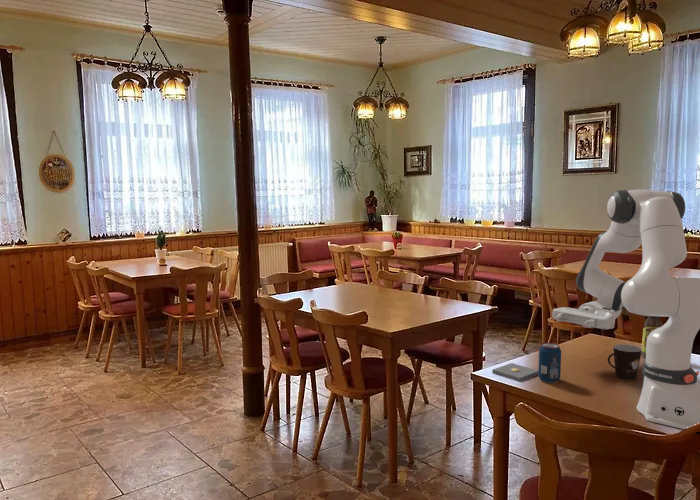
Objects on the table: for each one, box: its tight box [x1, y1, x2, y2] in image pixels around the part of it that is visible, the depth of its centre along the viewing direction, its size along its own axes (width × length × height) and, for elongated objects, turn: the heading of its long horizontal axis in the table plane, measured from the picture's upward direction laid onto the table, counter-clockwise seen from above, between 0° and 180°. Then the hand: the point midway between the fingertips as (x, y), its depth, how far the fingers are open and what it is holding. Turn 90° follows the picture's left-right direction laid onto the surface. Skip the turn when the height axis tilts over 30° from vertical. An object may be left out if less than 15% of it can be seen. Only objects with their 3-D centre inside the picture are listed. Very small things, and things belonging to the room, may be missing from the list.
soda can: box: [537, 342, 562, 384], centre depth 190 cm, size 7×7×12 cm
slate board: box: [491, 362, 538, 382], centre depth 197 cm, size 11×11×1 cm
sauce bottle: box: [641, 316, 663, 359], centre depth 212 cm, size 6×6×20 cm
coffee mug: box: [607, 343, 642, 381], centre depth 192 cm, size 12×9×10 cm
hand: (570, 321), depth 196 cm, fingers open, 8 cm apart
